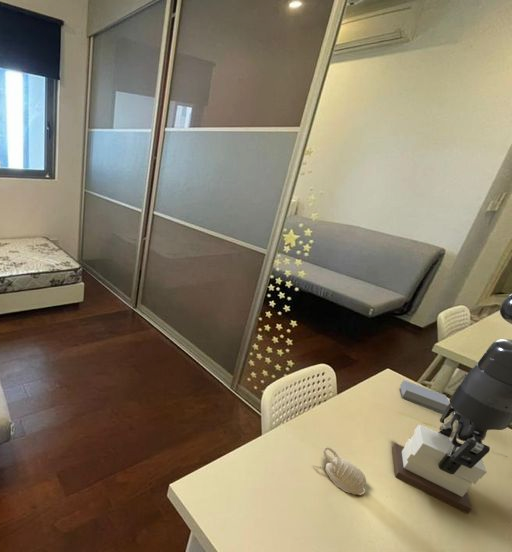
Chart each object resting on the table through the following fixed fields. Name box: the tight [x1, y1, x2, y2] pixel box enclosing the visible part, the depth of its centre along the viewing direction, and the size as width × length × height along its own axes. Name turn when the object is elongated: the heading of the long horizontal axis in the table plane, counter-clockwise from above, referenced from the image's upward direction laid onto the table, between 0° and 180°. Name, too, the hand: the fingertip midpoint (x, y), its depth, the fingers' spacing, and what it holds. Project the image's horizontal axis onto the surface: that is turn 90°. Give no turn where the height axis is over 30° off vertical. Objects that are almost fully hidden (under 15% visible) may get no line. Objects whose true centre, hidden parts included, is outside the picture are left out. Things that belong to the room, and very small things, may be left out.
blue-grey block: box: [399, 379, 450, 415], centre depth 86 cm, size 9×6×4 cm, turn 54°
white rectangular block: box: [413, 424, 488, 480], centre depth 63 cm, size 9×6×2 cm, turn 54°
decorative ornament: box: [322, 446, 367, 496], centre depth 63 cm, size 4×8×5 cm, turn 37°
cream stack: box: [391, 433, 481, 514], centre depth 65 cm, size 11×9×8 cm
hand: (441, 457), depth 64 cm, fingers closed on white rectangular block, 6 cm apart
